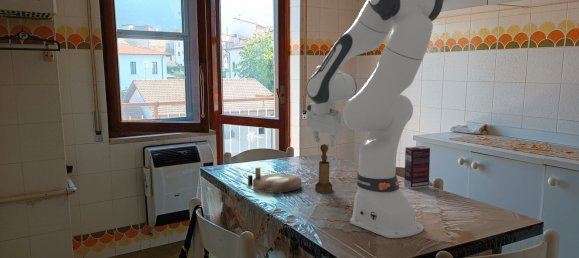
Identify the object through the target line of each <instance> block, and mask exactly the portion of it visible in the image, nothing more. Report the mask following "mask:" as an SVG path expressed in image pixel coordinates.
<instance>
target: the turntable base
mask: <svg viewBox="0 0 579 258" xmlns="http://www.w3.org/2000/svg"><path fill="white" fill-rule="evenodd" d="M253 179H254V178H253V175H252V174H248V175H247V185H248V186H250V187H252V186H253Z"/></svg>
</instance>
